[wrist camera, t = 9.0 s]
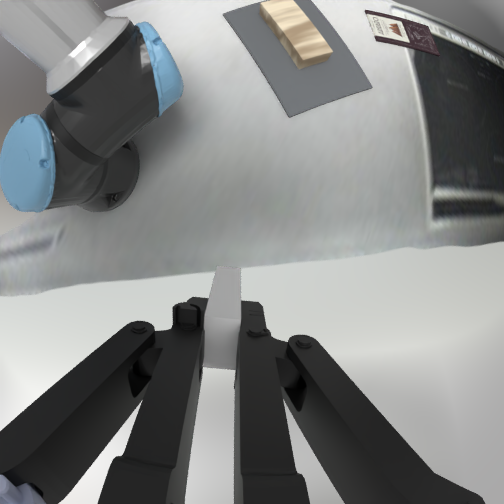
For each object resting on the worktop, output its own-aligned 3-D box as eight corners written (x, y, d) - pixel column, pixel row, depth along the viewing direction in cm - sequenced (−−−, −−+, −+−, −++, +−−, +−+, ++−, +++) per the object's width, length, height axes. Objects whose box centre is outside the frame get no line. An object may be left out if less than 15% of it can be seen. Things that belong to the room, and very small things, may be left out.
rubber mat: (371, 88, 40) (372, 87, 39) (289, 117, 41) (289, 116, 41) (303, -7, 35) (303, -8, 34) (223, 15, 36) (222, 13, 35)
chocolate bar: (439, 55, 37) (377, 40, 37) (437, 56, 38) (375, 42, 38) (428, 26, 35) (365, 9, 35) (426, 27, 36) (363, 11, 36)
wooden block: (333, 51, 34) (289, -5, 31) (303, 60, 35) (260, 2, 32) (326, 60, 38) (286, 6, 35) (298, 69, 39) (259, 14, 36)
